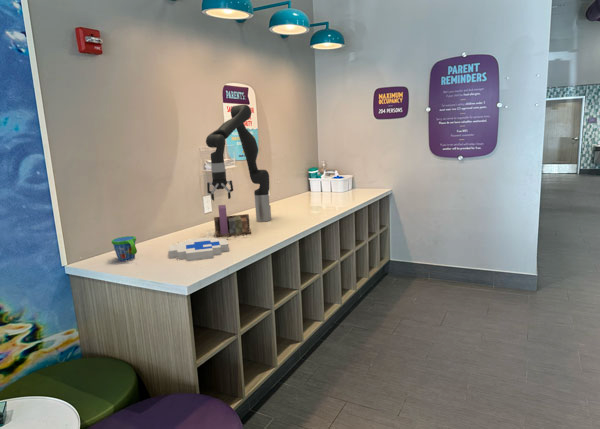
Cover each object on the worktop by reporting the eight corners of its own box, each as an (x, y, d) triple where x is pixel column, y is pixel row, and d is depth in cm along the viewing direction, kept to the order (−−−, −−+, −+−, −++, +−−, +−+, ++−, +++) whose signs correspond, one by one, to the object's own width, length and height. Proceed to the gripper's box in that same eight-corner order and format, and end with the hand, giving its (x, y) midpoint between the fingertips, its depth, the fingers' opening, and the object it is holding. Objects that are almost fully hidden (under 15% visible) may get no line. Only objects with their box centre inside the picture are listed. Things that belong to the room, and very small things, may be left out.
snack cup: (108, 259, 202) (105, 238, 200) (129, 254, 209) (127, 234, 207) (122, 264, 191) (119, 243, 189) (144, 259, 199) (142, 238, 197)
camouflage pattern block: (249, 229, 249) (248, 214, 248) (251, 234, 238) (250, 217, 236) (215, 233, 246) (214, 217, 244) (215, 237, 234) (214, 221, 232)
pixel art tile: (224, 235, 223) (230, 248, 196) (225, 242, 224) (230, 256, 197) (169, 241, 216) (167, 255, 189) (170, 248, 217) (168, 264, 190)
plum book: (227, 230, 245) (225, 204, 242) (228, 233, 235) (225, 207, 232) (220, 230, 244) (218, 205, 241) (221, 234, 234) (218, 208, 232)
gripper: (231, 169, 238) (233, 197, 241) (205, 171, 235) (208, 200, 238) (231, 170, 231) (234, 199, 234) (205, 172, 228) (208, 202, 231)
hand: (221, 199), depth 236 cm, fingers open, 8 cm apart
